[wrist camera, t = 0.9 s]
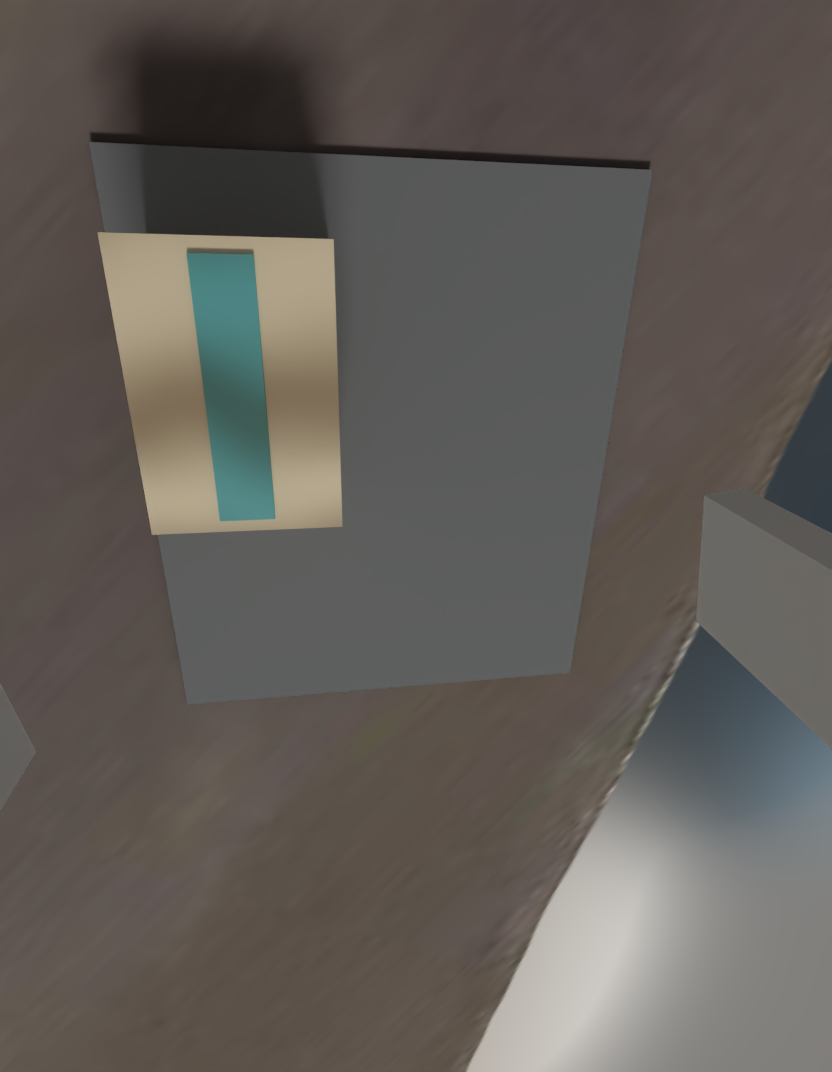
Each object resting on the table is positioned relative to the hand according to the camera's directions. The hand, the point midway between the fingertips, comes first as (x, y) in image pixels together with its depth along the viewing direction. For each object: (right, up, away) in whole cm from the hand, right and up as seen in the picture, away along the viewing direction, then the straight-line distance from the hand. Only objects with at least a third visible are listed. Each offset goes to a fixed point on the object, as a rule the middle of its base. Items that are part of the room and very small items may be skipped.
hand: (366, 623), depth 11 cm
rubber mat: (0, +5, +18) cm, 19 cm away
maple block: (-6, +9, +15) cm, 18 cm away
